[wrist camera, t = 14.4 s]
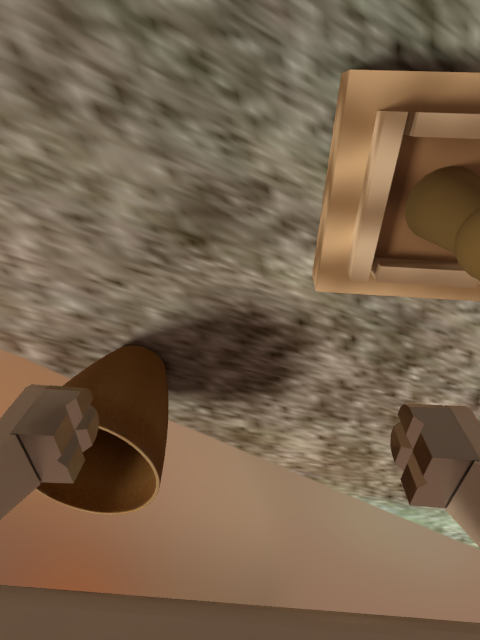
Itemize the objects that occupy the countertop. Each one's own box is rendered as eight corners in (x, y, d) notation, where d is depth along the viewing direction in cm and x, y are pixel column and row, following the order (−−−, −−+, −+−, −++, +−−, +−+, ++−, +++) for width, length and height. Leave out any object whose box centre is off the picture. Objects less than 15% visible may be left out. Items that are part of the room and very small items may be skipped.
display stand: (341, 73, 29) (357, 66, 24) (571, 79, 28) (644, 73, 22) (312, 274, 38) (318, 303, 33) (483, 284, 37) (519, 315, 32)
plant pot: (89, 304, 43) (3, 397, 29) (205, 343, 45) (175, 448, 31) (78, 388, 51) (6, 493, 37) (177, 419, 52) (143, 530, 39)
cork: (491, 162, 28) (602, 192, 18) (472, 237, 31) (558, 296, 21) (410, 169, 28) (477, 201, 19) (399, 242, 31) (452, 300, 22)
